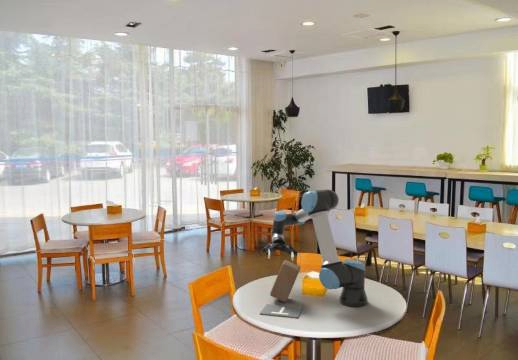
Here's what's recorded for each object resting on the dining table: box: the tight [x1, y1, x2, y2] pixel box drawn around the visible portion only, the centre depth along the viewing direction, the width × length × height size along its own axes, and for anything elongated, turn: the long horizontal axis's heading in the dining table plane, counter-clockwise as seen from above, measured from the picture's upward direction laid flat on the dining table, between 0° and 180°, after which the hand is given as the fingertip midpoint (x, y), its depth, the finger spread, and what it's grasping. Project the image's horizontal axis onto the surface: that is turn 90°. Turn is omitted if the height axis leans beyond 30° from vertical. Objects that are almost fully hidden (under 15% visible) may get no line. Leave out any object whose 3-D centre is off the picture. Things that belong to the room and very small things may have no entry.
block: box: [269, 259, 301, 303], centre depth 262 cm, size 10×10×20 cm
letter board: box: [259, 303, 304, 319], centre depth 247 cm, size 20×14×1 cm
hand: (281, 257), depth 266 cm, fingers open, 13 cm apart
